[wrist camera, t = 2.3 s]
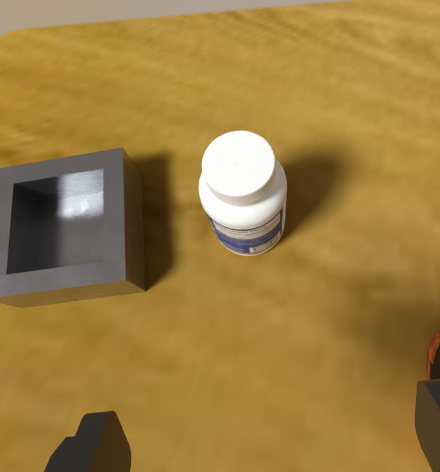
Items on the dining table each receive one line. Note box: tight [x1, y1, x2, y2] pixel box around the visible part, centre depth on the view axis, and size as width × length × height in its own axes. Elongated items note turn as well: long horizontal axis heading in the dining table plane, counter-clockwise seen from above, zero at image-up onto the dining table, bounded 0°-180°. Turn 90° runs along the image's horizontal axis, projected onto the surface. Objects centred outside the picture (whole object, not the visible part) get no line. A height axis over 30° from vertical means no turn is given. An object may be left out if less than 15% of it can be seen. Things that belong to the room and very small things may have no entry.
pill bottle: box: [199, 131, 287, 256], centre depth 25 cm, size 5×5×10 cm
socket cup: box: [0, 148, 146, 308], centre depth 30 cm, size 10×10×4 cm
